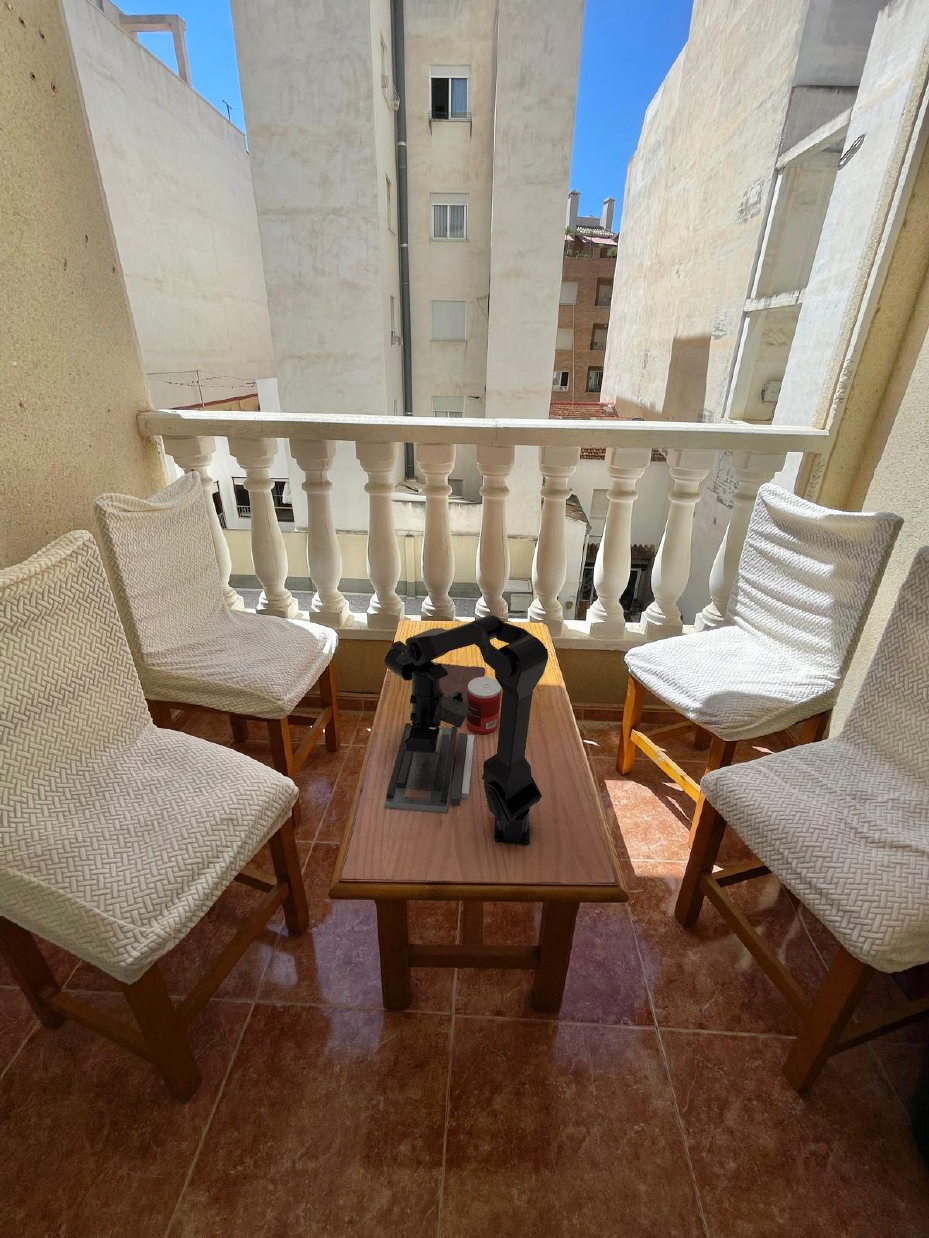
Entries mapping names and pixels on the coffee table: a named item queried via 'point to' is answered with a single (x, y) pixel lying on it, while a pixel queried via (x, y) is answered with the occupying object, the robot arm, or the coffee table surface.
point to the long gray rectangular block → (462, 769)
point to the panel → (423, 775)
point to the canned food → (483, 705)
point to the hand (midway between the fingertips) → (425, 751)
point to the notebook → (459, 678)
